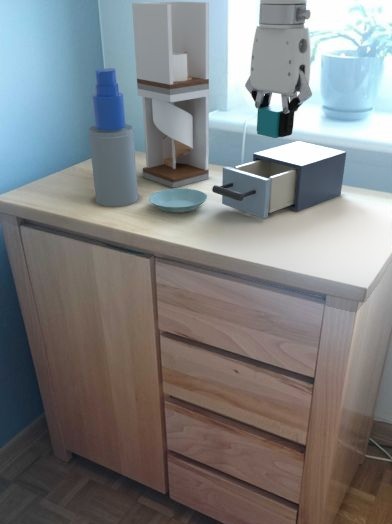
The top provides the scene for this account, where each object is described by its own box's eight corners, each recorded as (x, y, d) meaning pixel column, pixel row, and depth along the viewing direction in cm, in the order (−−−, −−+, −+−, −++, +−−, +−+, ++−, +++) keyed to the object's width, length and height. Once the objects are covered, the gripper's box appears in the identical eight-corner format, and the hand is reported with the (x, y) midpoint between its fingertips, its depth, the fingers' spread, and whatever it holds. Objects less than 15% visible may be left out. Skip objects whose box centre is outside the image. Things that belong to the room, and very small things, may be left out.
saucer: (137, 209, 114) (136, 198, 113) (176, 194, 121) (176, 184, 120) (180, 222, 107) (179, 211, 106) (218, 206, 115) (219, 195, 113)
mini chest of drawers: (297, 212, 112) (301, 165, 107) (251, 196, 119) (253, 153, 114) (340, 195, 120) (346, 151, 115) (294, 182, 128) (298, 141, 122)
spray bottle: (125, 189, 124) (115, 64, 110) (145, 200, 118) (137, 69, 104) (89, 197, 120) (73, 68, 106) (107, 209, 114) (94, 74, 100)
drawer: (246, 225, 104) (247, 186, 100) (204, 209, 111) (204, 172, 107) (308, 202, 114) (312, 165, 110) (266, 189, 121) (268, 154, 117)
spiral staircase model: (143, 176, 132) (132, 3, 113) (177, 168, 138) (173, 1, 118) (173, 188, 125) (167, 4, 105) (208, 178, 131) (209, 2, 111)
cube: (291, 134, 101) (293, 108, 99) (275, 138, 99) (277, 112, 97) (272, 130, 104) (274, 104, 102) (256, 134, 102) (258, 108, 99)
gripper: (338, 18, 88) (324, 138, 99) (259, 13, 99) (253, 122, 109) (309, 20, 84) (297, 145, 94) (229, 15, 94) (226, 128, 105)
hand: (274, 132), depth 101 cm, fingers closed on cube, 4 cm apart
